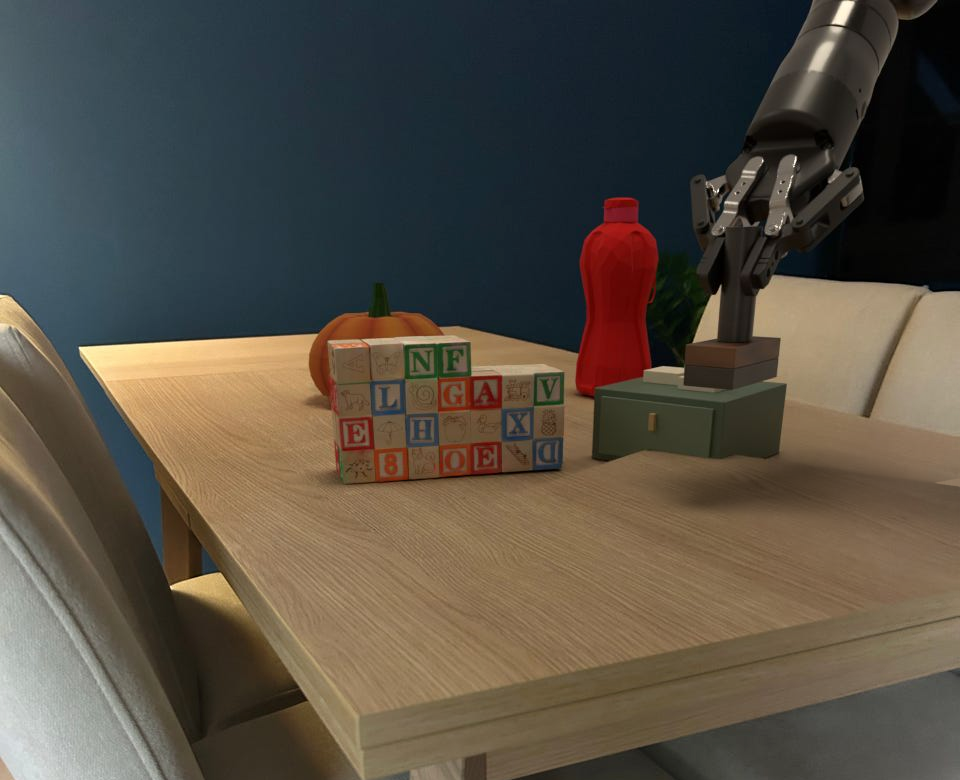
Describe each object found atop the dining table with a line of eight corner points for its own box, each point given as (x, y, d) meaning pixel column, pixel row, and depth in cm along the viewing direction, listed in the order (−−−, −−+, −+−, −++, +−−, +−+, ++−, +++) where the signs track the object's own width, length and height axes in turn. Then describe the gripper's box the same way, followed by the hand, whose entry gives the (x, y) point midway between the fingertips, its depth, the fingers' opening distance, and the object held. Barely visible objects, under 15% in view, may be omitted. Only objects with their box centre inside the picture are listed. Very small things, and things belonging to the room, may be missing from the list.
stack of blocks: (544, 456, 99) (546, 331, 94) (563, 470, 94) (567, 337, 89) (334, 469, 94) (325, 337, 90) (341, 484, 89) (333, 345, 84)
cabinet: (779, 452, 100) (787, 383, 98) (714, 479, 90) (721, 403, 87) (659, 436, 108) (664, 372, 106) (587, 459, 98) (589, 388, 95)
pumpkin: (398, 384, 145) (394, 277, 139) (482, 400, 131) (482, 282, 125) (285, 399, 133) (275, 283, 127) (365, 418, 120) (358, 289, 114)
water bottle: (669, 395, 134) (683, 197, 124) (604, 402, 129) (614, 196, 119) (628, 387, 141) (639, 198, 132) (566, 393, 136) (571, 198, 127)
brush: (730, 373, 79) (742, 226, 74) (777, 377, 76) (792, 225, 72) (682, 385, 73) (693, 227, 69) (731, 390, 71) (746, 226, 66)
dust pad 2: (733, 388, 95) (734, 375, 95) (714, 393, 92) (716, 380, 92) (696, 384, 97) (697, 372, 97) (677, 389, 95) (678, 376, 94)
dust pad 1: (696, 381, 99) (697, 369, 99) (677, 385, 97) (678, 373, 96) (662, 377, 102) (662, 366, 101) (642, 382, 99) (643, 370, 98)
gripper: (715, 76, 76) (626, 249, 72) (899, 56, 67) (810, 249, 63) (738, 155, 81) (657, 319, 77) (911, 145, 73) (830, 327, 69)
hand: (727, 286), depth 70 cm, fingers closed on brush, 2 cm apart
